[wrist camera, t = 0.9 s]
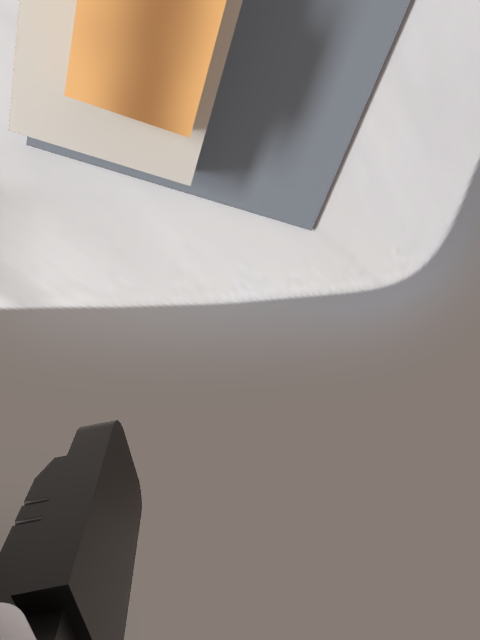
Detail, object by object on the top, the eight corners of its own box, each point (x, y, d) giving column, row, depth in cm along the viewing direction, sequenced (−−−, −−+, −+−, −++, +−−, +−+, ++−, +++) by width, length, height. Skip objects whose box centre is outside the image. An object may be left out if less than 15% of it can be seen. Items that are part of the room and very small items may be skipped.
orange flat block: (75, 90, 23) (64, 95, 20) (104, -105, 19) (94, -128, 17) (187, 128, 25) (190, 138, 22) (233, -45, 21) (241, -57, 18)
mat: (28, 143, 28) (26, 144, 28) (67, -232, 20) (65, -237, 20) (310, 228, 34) (311, 230, 33) (425, -40, 26) (428, -41, 25)
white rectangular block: (31, 119, 27) (8, 130, 24) (62, -188, 21) (38, -240, 17) (187, 168, 30) (190, 186, 26) (258, -89, 24) (275, -115, 20)
